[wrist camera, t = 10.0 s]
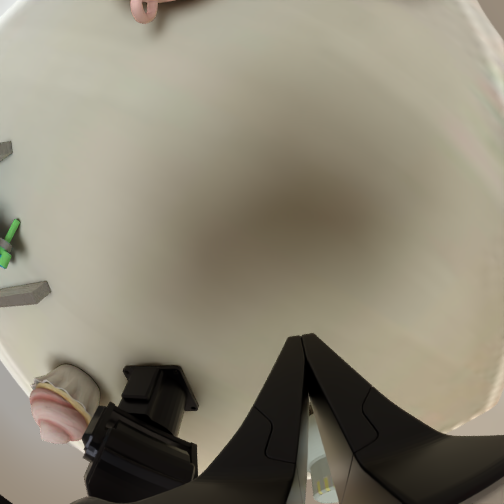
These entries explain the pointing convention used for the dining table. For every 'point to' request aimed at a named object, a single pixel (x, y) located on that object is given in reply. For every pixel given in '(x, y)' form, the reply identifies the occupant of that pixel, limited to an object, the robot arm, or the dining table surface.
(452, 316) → the dining table surface
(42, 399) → the cupcake
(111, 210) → the dining table surface
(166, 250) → the dining table surface
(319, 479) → the air freshener
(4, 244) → the gear
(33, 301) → the grey u-shaped frame
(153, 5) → the mug
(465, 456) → the robot arm
